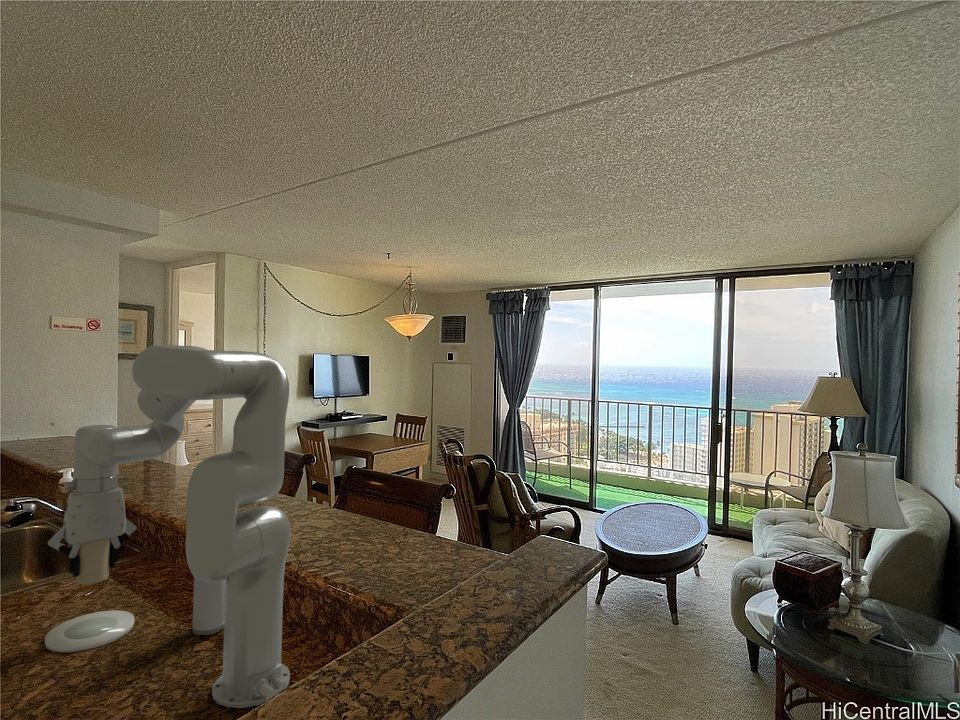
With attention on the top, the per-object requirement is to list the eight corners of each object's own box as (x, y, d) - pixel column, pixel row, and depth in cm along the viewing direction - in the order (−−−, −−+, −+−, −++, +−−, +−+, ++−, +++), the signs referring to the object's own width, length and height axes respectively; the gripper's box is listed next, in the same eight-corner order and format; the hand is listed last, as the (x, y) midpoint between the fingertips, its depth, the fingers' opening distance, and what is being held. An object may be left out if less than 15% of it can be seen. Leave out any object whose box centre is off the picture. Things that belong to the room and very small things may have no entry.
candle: (81, 587, 104) (82, 537, 104) (72, 579, 108) (74, 531, 108) (112, 578, 109) (114, 531, 109) (103, 571, 112) (105, 525, 112)
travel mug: (184, 632, 109) (187, 537, 109) (213, 618, 115) (215, 529, 115) (203, 640, 106) (206, 543, 106) (231, 626, 112) (234, 534, 112)
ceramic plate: (144, 631, 109) (144, 626, 109) (53, 661, 98) (54, 655, 98) (122, 608, 119) (122, 603, 119) (37, 633, 107) (37, 628, 107)
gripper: (47, 495, 99) (44, 589, 99) (148, 481, 112) (145, 564, 112) (39, 488, 104) (36, 577, 104) (137, 475, 117) (134, 555, 117)
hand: (93, 569), depth 108 cm, fingers closed on candle, 5 cm apart
